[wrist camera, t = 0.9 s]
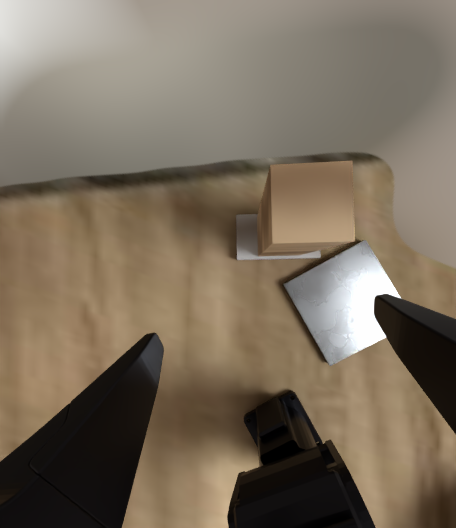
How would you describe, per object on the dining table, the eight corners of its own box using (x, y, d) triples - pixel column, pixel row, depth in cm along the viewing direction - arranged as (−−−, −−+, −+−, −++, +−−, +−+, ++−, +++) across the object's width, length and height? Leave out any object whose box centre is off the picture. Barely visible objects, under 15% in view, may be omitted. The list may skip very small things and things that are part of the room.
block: (316, 258, 25) (400, 245, 12) (237, 260, 25) (231, 250, 12) (315, 214, 25) (396, 152, 12) (236, 217, 26) (229, 162, 12)
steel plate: (409, 320, 24) (414, 321, 23) (327, 362, 24) (330, 366, 24) (361, 240, 24) (365, 239, 24) (282, 284, 25) (283, 284, 24)
